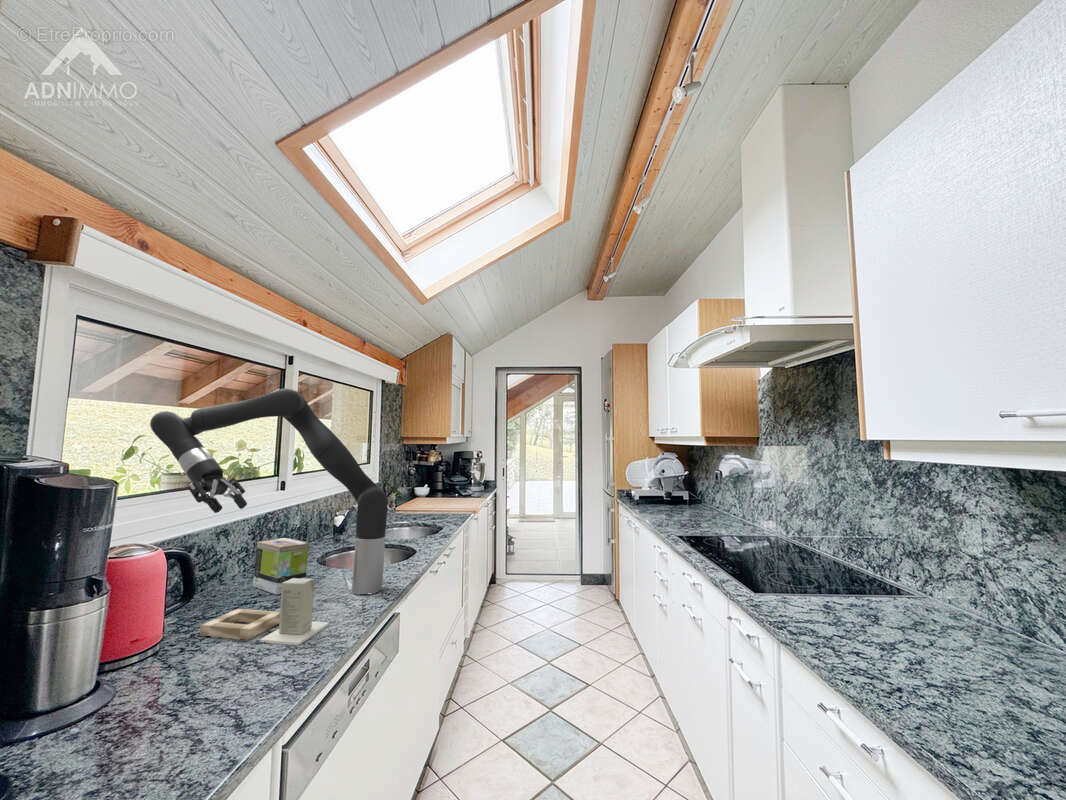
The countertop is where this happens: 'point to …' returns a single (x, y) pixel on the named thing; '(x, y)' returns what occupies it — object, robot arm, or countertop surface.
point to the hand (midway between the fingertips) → (232, 508)
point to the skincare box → (296, 606)
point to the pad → (294, 635)
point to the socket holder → (229, 629)
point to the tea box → (279, 563)
